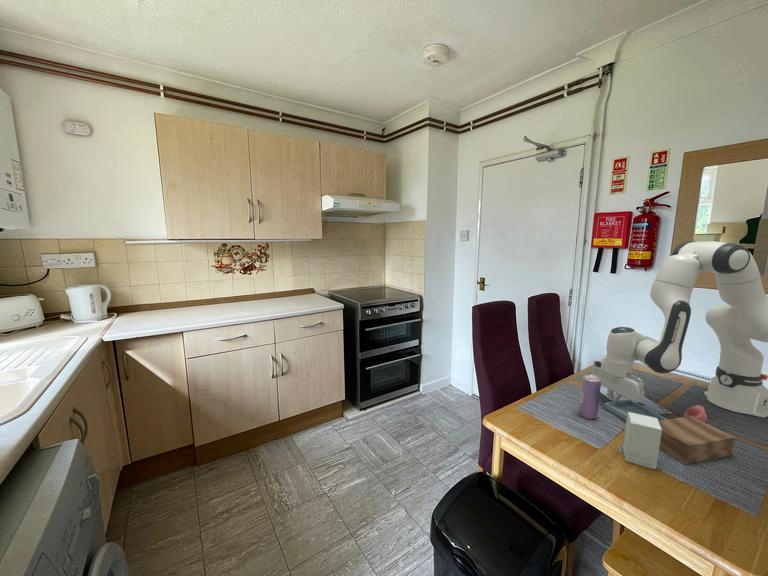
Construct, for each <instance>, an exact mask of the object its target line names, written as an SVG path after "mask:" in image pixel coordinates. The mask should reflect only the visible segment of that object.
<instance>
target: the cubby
mask: <svg viewBox="0 0 768 576" xmlns="http://www.w3.org/2000/svg"><path fill="white" fill-rule="evenodd" d="M666 419H667V420H661V421H659V424H660V426H661V429H662V433H661V440H660V447H659V450H662V451H664V452H665V453H667V454H668V455H670V456H672V457H673V458H675V459H676V460H678V461H680V462H681V463H683V464H685V465H689V464H693V463H698V462H699V463H700V462H704V461H708V460H709V461H710V460H713V459H718V458H719V457H720V458H723V457H724V456H725V457H730V456H732V454H733V449H734V444H735V438H736V437H735V436H733V435H730V434H729V433H727V432H724V431H723V430H720V429H718V428H716V427H714V426H712V425H710V424H708V423H706V422H702V421H700V420H698V419H696V418H694V417H692V416H687V417H685V416H681V417H676V418H666ZM720 458H719V459H720Z"/></svg>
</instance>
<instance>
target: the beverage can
mask: <svg viewBox="0 0 768 576" xmlns="http://www.w3.org/2000/svg"><path fill="white" fill-rule="evenodd" d="M601 387H602V385H601V379H600V378H599V377H596V376H593V375H591V374H584V375H582V378H581V386H580V393H579V401H578V402H579V404H578V414H579V416H580V417H582V418H585V419H587V420H595V419H597V418H598V415H599V414H598V413H599V405H600V395H601Z"/></svg>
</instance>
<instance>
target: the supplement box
mask: <svg viewBox="0 0 768 576" xmlns="http://www.w3.org/2000/svg"><path fill="white" fill-rule="evenodd" d="M661 433H662V429H661V426H660V424H659V421H658V419H657V418H654V417H649V416H645V415H640V414H636V413H631V412H628V415H627V422H625V431H624V436H623V437H624V439H623V446H622V450H623V455H624V460H625V462H629V463H632V464H635V465H638V466H641V467H646V468H649V469H652V470H657V468H658V467H657V465H658V459H659V454H660V448H659V447H660V440H661Z"/></svg>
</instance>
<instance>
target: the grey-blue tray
mask: <svg viewBox="0 0 768 576" xmlns="http://www.w3.org/2000/svg"><path fill="white" fill-rule="evenodd" d="M603 409H604V410H605V411H606V412H608V413H610V414H611V415H613V416H615V417H617V418H619V419H620V420H622V421H623V422H625V423H626V422H627V415H628V412H631V413H636V414H640V415H645V416H649V417H654V418H657V419H658V421H661V420H667V419H668V418H667V417H665V416H662V415H660V414H659V413H657V412H654V411H653V410H651V409H649V408H647V407H646V406H644V405H641V404H640V403H639V402H637V403H635V402H632V401H631V400H629V399H623V400H619V401H614V402H613V401H608V402H604V404H603Z"/></svg>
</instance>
